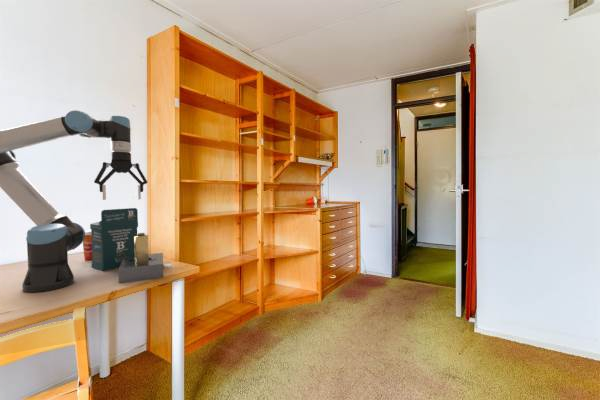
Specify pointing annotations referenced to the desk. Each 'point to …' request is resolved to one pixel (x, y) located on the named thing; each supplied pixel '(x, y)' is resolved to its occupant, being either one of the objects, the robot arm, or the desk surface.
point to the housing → (141, 269)
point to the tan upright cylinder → (141, 249)
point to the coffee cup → (87, 246)
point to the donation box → (113, 238)
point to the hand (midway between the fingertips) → (122, 199)
